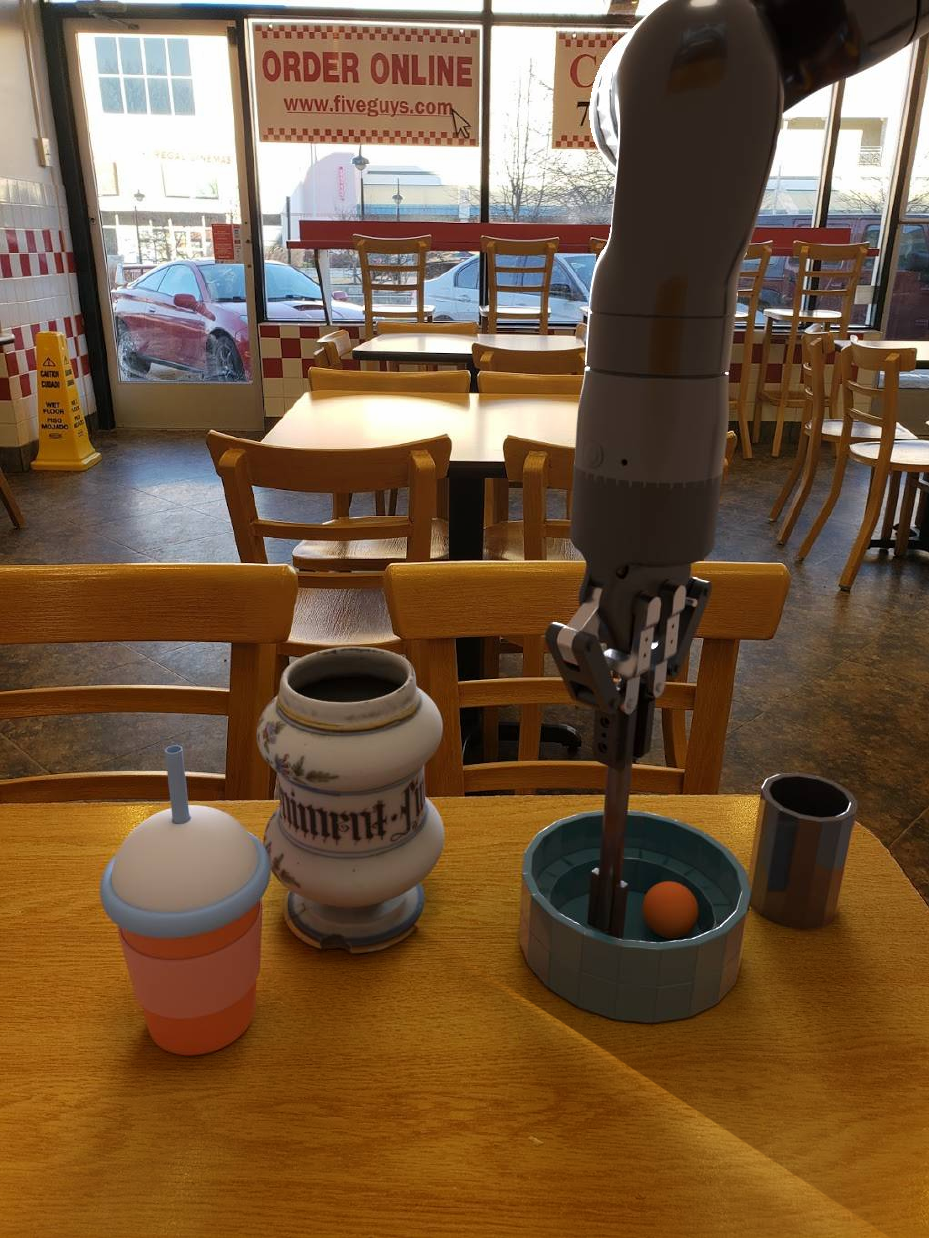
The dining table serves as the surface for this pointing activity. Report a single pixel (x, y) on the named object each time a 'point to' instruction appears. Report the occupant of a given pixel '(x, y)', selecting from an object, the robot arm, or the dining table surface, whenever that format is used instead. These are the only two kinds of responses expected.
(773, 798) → the holder
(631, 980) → the bowl
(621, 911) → the stirring stick
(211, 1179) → the dining table surface
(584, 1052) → the dining table surface
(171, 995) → the cup with straw
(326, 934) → the apothecary jar
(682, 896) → the ball
